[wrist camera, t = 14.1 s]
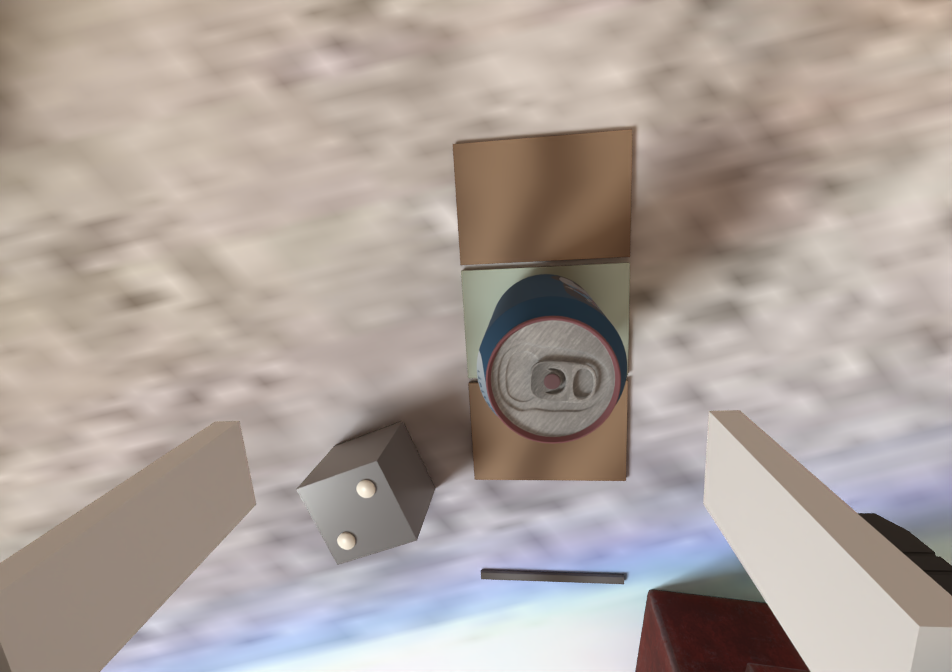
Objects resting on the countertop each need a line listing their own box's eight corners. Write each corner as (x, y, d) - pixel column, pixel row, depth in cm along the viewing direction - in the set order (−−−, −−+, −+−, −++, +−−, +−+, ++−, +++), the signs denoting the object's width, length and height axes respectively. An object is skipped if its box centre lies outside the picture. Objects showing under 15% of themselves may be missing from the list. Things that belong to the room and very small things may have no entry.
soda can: (490, 368, 32) (468, 449, 21) (496, 268, 31) (475, 297, 19) (590, 375, 32) (625, 464, 20) (602, 275, 30) (647, 308, 18)
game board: (481, 576, 37) (481, 579, 37) (453, 144, 29) (452, 144, 29) (623, 581, 36) (624, 584, 35) (631, 130, 28) (632, 129, 28)
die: (368, 510, 37) (336, 566, 31) (334, 446, 36) (295, 490, 30) (435, 488, 36) (416, 541, 30) (402, 420, 35) (375, 462, 29)
